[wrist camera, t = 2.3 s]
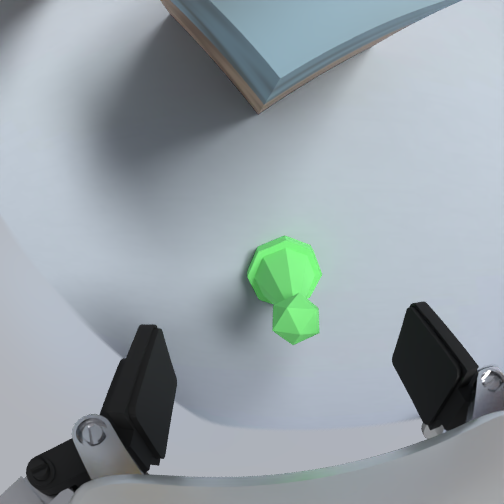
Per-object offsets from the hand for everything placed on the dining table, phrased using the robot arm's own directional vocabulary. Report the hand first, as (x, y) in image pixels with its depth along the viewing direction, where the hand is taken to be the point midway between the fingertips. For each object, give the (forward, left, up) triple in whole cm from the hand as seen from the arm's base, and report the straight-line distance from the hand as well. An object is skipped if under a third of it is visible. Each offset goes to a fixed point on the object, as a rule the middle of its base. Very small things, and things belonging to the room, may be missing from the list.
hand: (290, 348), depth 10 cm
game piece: (-1, 0, -8) cm, 8 cm away
